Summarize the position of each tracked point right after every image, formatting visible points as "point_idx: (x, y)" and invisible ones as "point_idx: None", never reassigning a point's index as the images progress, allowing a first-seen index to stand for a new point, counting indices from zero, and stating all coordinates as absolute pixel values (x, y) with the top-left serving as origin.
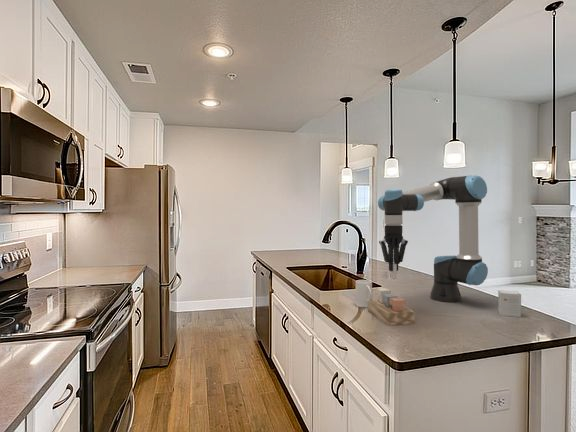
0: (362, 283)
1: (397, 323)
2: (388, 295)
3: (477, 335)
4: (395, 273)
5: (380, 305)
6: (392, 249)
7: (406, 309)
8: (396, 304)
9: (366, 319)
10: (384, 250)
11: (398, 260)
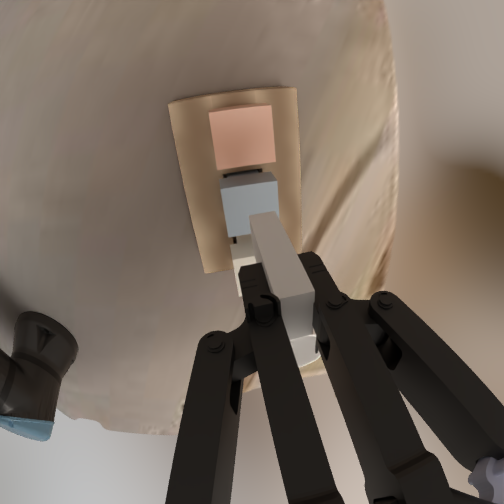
0: (315, 333)
1: (244, 89)
2: (261, 207)
3: (32, 23)
4: (267, 236)
5: (281, 198)
6: (396, 451)
7: (190, 137)
8: (256, 104)
9: (330, 155)
10: (484, 387)
11: (257, 341)
